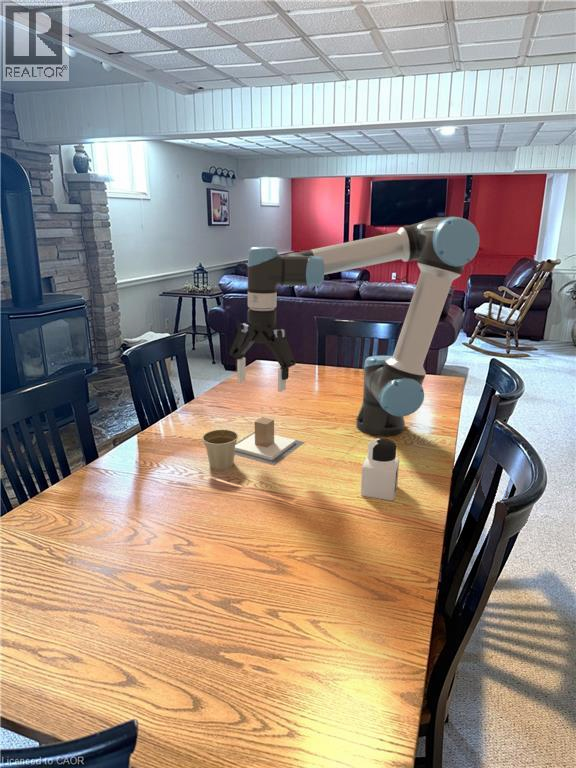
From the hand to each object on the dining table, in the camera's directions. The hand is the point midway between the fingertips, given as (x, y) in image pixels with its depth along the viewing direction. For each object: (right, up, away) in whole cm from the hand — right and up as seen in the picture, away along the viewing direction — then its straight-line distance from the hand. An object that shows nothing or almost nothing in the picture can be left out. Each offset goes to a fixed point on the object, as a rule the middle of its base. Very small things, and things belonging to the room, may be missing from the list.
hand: (261, 385), depth 136 cm
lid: (+1, -17, +7) cm, 19 cm away
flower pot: (-10, -22, -3) cm, 24 cm away
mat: (+1, -18, +7) cm, 19 cm away
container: (+29, -26, -16) cm, 42 cm away
